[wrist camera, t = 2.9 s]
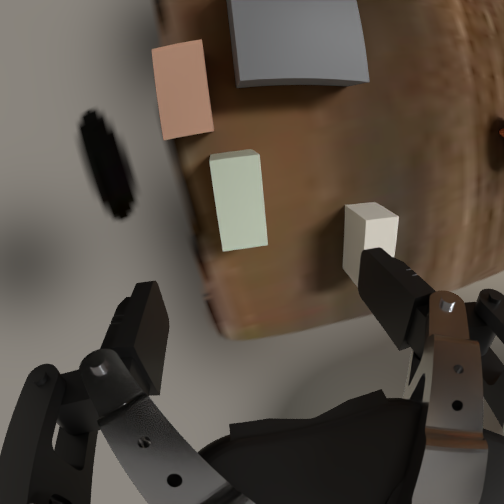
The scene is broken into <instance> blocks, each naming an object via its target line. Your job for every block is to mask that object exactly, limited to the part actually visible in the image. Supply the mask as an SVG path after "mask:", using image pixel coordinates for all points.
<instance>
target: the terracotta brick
mask: <svg viewBox="0 0 504 504" xmlns="http://www.w3.org/2000/svg"><path fill="white" fill-rule="evenodd" d="M152 58H153V67H154V76H155V85H156V93H157V100H158V107H159V114H160V121H161V128H162V134H163V140H169V139H173V138H178V137H183V136H189V135H194V134H200V133H206V132H212V131H214V125H213V118H212V110H211V103H210V95H209V88H208V80H207V72H206V64H205V56H204V50H203V44H202V39H200V40H194V41H188V42H183V43H178V44H173V45H168V46H164V47H160V48H155V49H152Z"/></svg>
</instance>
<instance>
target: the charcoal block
mask: <svg viewBox="0 0 504 504" xmlns="http://www.w3.org/2000/svg"><path fill="white" fill-rule="evenodd" d="M226 1H227V10H228V19H229V28H230V36H231V45H232V54H233V63H234V72H235V81H236V88H243V87H256V86H274V85H331V86H352V85H357V84H362V83H367V82H369V74H368V65H367V58H366V50H365V44H364V38H363V32H362V26H361V21H360V16H359V11H358V6H357V1H356V0H226Z"/></svg>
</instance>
